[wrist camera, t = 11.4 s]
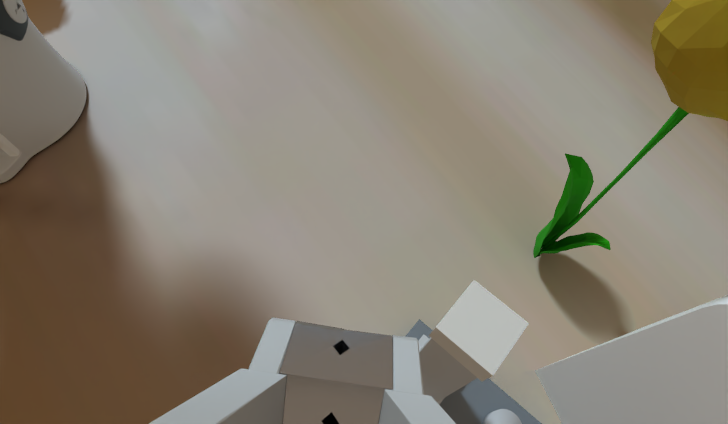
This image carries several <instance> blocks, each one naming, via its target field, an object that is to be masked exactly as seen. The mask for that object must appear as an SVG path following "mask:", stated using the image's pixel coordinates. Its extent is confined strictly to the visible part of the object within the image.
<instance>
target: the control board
mask: <svg viewBox="0 0 728 424" xmlns="http://www.w3.org/2000/svg"><path fill="white" fill-rule="evenodd" d="M431 332H432V330H431V329H430V328H429V327H428V326H427V325H425V324H424V323H423V322H422V321H421V320H420V319H419V321H418V322H417V323H416V324H415V325H414V327H413V328H412V329H411V330H410V331H409V333H408V334H407V335H406V336H405V337H413V338H417V340H418V341H419V339H420V338H421V337H422V336H423V334H424V335H425V336H427V337H428V338H430V337H429V335H430V333H431ZM440 406H441V407H442V409H443V410H444V411H445V412H446V413H447V414H448V415H449V416H450V418H451V419H452V420H453V421H454V422H455V423H456V424H541V423H540V422H539V421H538V420H537V419H535V418H534V417H533V416H532V415H531V414H530V413H528V412H527V411H526V410H525V409H524V408H523V407H521V406H520V405H519V404H518V403H517V402H516V401H514V400H513V399H512V398H511V397H510V396H508V395H507V394H506V393H505V392H504V391H503V390H501V389H500V388H499V387H498V386H497V385H496V384H494V383H493V382H492V381H491V380H490V379H489V378H488V379H486V380H484V381H483V382H482V381H480V380H479V379H478V378H477V379H475V380H473V381H472V382H470V383H468V384H467V385H465V386H463V387H461V388H460V389H458V390H456V391H455V392H453V393H451V394H450V395H448V396H446V397H445V398H444V399H443V400H442V402H441V403H440Z"/></svg>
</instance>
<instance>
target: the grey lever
mask: <svg viewBox="0 0 728 424" xmlns="http://www.w3.org/2000/svg"><path fill="white" fill-rule="evenodd" d="M528 324H529V323H528V322H527V321H525V320H524V319H523V318H522V317H520V316H519V315H518V314H517V313H515V312H514V311H513V310H511V309H510V308H509V307H508V306H506V305H505V304H504V303H503V302H501V301H500V300H499V299H498V298H496V297H495V296H494V295H493V294H491V293H490V292H489V291H488V290H486V289H485V288H484V287H483V286H481V285H480V284H479V283H478V282H476V281H475V280H473V282H472V283H471V284H470V285H469V286H468V288H467V289H466V290H465V291H464V293H463V294H462V295H461V296H460V297H459V299H458V300H457V301H456V302H455V304H454V305H453V306H452V307H451V309H450V310H449V311H448V312H447V314H446V315H445V316H444V317H443V319H442V320H441V321H440V322H439V324H438V325H437V326H436V327H435V329H434V330H433V331H432V332H431V333H430V335H429V337H430V338H428V337H427V336H425V335H424V334H423V336H422V337H421V338H420V339H419V341H418V342H419V352H420V362H421V372H422V382H423V393H424V395H428V396H432V397H433V399H434V400H435V401H436V402H437V403H438V404H439V405H440V403H441V402H442V400H443V399H444V398H445V397H446V396H448V395H450V394H451V393H453V392H455V391H456V390H458V389H460V388H461V387H463V386H465V385H467V384H468V383H470V382H472V381H473V380H475V379H477V378H478V379H479V380H480V381H482V382H483V381H484V380H486V379H488V378H490V377H491V376H493V375H494V373H495V372H496V370H497V369H498V368H499V366H500V365H501V363H502V362H503V360H504V359H505V357H506V356H507V354H508V353H509V352H510V350H511V349H512V347H513V346H514V344H515V343H516V341H517V340H518V339H519V337H520V336H521V334H522V333H523V331H524V330H525V328H526V327H527V325H528Z"/></svg>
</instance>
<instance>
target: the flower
mask: <svg viewBox="0 0 728 424" xmlns="http://www.w3.org/2000/svg"><path fill="white" fill-rule="evenodd" d="M651 44H652V48H653V52H654V56H655V68H656V71H657V73H658V74H659V76H660V78H661V80H662V82H663V84H664V85H665V88H666V90H667V93H668V95H669V97H670V100H671V102H673V103H674V104H676V105H677V106H679V107H678V109H677V110H676V111H675V112H674V113H673V115H672V116H671V117H670V118H669V119H668V121H667V122H666V123H665V124H664V125H663V127H662V128H661V129H660V130H659V131H658V133H657V134H656V135H655V136H654V137H653V138H652V139H651V140H650V141H649V143H648V144H647V145H646V146H645V147H644V148H643V149H642V150H641V151H640V152H639V154H638V155H637V156H636V157H635V158H634V159H633V160H632V161H631V162H630V163H629V164H628V166H627V167H626V168H625V169H624V170H623V171H622V172H621V173H620V174H619V175H618V176H617V177H616V178H615V179H614V180H613V181H612V182H611V183H610V184H609V185H608V186H607V187H606V188H605V189H604V190H603V191H602V192H601V193H600V194H599V195H598V196H597V197H596V198H595V199H594V200H593V201H592V202H591V203H590V204H589V205H588V206H587V207H586V208H585V209H584V210H583V211H582V212H581V213H580V214H579V212H580V209H581V206H582V204H583V202H584V201H585V199H586V198H587V196H588V195H589V193H590V190H591V187H592V185H593V182H594V181H593V176H592V173H591V170H590V168H589V166H588V164H587V163H586V162H585V161H584V159H583V158H582V157H578V156H574V155H569V154H565V155H566V158H567V161H568V164H569V167H570V172H569V175H568V178H567V181H566V184H565V188H564V191H563V194H562V197H561V199H560V201H559V203H558V205H557V207H556V210H555V214H554V218H553V219H552V220H551V221H550V222H549V223H548V225H547V226H546V227H545V228H543V229H542V230H541V231H540V232H539V234H538V236H537V238H536V243H535V247H534V253H533V254H534V258H535V257H538V256H540V254H542V253H558V252H560V251H565V250H569V249H573V248H578V247H582V246H588V245H599V246H601V247H604V248H606V249H609V250H610V243H609V241H608V240H606V239H605V238H603V237H602V236H600V235H598V234H595V233H584V234H580V235H574V236H568V237H566V238H563V239H561V240H559V241H558V242H557V241H556V240H557V239H558V238H559V237H560V236H561V235H562V234H563V233H565V232H566V231H567V230H568V229H570V228H571V227H572V226H573V225H574V224H576V223H577V222H578V221H579V220H580V219H581V218H582V217H583V216H584V215H585V214H586V213H587V212H588V211H589V210H590V209H591V208H592V207H593V206H594V205H595V204H596V203H597V202H598V201H599V200H600V199H601V198H602V197H603V196H604V195H605V194H606V193H607V192H608V191H609V190H610V189H611V188H612V187H613V186H614V185H615V184H616V183H617V182H618V181H619V180H620V179H621V178H622V177H623V176H624V175H625V174H626V173H627V172H628V171H629V170H630V169H631V168H632V167H633V166H634V165H635V164H636V163H637V162H638V161H639V160H640V159H641V158H642V157H643V156H644V155H645V154H646V153H647V152H648V151H650V150H651V149H652V148H653V147H654V146H655V145H656V144H657V143H658V142H659V141H660V140H661V139H662V138H663V137H664V136H665V135H666V134H667V133H668V132H669V131H671V130H672V129H673V128H674V127H675V126H676V125H677V124H678V123H679V122H680V121H681V120H682V119H683V118H684V117H685V116H686V115H687V114H688V113H692V114H698V115H702V116H706V117H715V118H720V119H723V120H726V121H728V0H671V2H670V3H669V5H668V6H667V7H666V9H665V10H664V11H663V13H662V14H661V15H660V17H659V18H658V19H657V20H656V22H655V23H654V28H653V34H652V40H651ZM541 248H542V249H541Z"/></svg>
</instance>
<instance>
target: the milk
mask: <svg viewBox="0 0 728 424" xmlns="http://www.w3.org/2000/svg"><path fill="white" fill-rule="evenodd" d="M535 372H536V374H537V376H538V378H539V380H540V382H541V384H542V386H543V387H544V389H545V391H546V393H547V395H548V397H549V399H550V401H551V403H552V405H553V407H554V409H555V411H556V413H557V415H558V417H559V419H560V421H561V423H562V424H728V295H726V296H724V297H721V298H718V299H716V300H713V301H710V302H708V303H705V304H703V305H700V306H697V307H695V308H692V309H689V310H687V311H684V312H682V313H679V314H676V315H674V316H671V317H668V318H666V319H663V320H660V321H658V322H655V323H653V324H650V325H647V326H645V327H642V328H640V329H637V330H635V331H632V332H630V333H627V334H625V335H622V336H620V337H617V338H615V339H612V340H610V341H608V342H605V343H603V344H600V345H598V346H595V347H593V348H590V349H588V350H585V351H583V352H580V353H578V354H575V355H573V356H570V357H568V358H565V359H563V360H560V361H558V362H555V363H553V364H550V365H548V366H545V367H543V368H540V369H538V370H535Z"/></svg>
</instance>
